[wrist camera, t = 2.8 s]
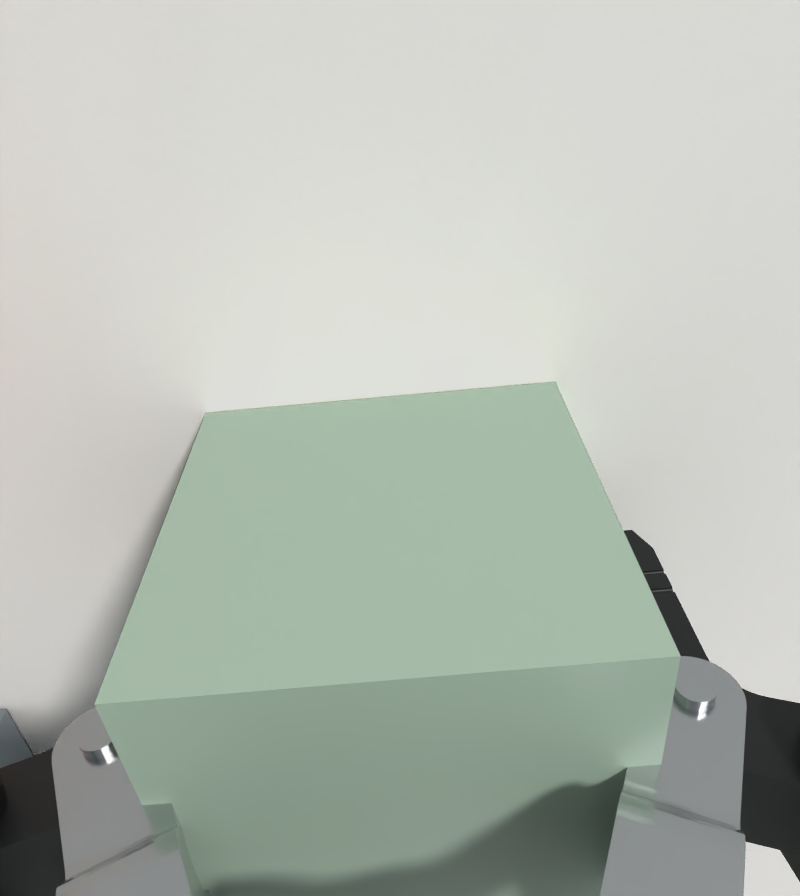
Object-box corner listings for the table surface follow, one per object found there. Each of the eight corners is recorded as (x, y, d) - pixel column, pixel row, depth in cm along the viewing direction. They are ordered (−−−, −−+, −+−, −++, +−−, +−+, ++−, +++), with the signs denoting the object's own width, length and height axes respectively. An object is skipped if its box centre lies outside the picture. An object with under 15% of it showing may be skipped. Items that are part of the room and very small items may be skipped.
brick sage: (205, 412, 13) (93, 704, 8) (555, 381, 12) (680, 655, 7) (268, 652, 16) (220, 970, 11) (546, 630, 16) (629, 939, 11)
